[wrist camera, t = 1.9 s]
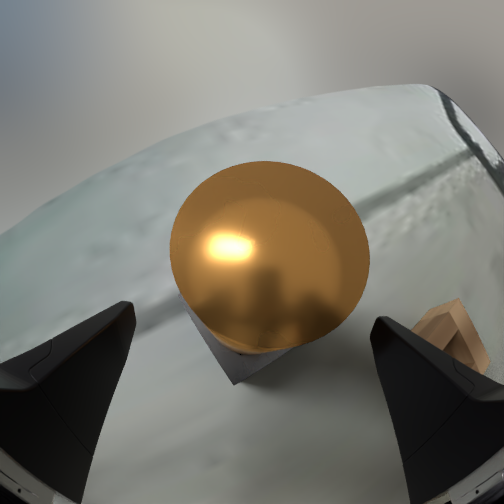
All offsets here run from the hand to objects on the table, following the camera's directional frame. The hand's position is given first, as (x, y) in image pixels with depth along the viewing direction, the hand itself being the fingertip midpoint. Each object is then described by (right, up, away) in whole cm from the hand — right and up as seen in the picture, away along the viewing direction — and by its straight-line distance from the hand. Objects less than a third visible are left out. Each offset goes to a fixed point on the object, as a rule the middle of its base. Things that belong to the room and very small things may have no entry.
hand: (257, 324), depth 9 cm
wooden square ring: (+14, -7, +9) cm, 18 cm away
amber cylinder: (0, -2, +9) cm, 9 cm away
